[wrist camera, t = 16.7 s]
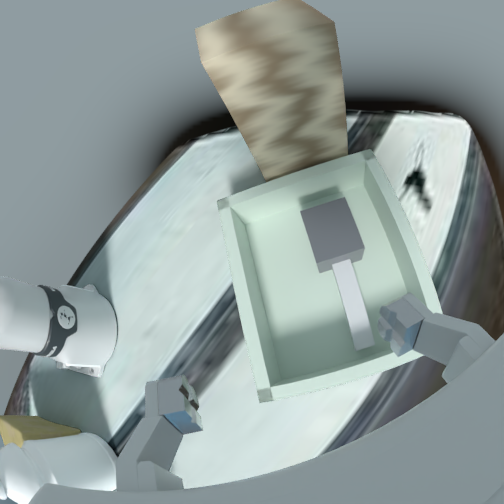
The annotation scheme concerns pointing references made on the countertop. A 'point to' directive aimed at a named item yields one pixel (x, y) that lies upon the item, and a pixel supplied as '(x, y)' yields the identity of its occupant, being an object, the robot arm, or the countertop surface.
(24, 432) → the cheese
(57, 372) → the countertop surface
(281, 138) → the stand
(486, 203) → the countertop surface
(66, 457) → the bottle
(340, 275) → the gray mallet
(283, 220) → the bin
